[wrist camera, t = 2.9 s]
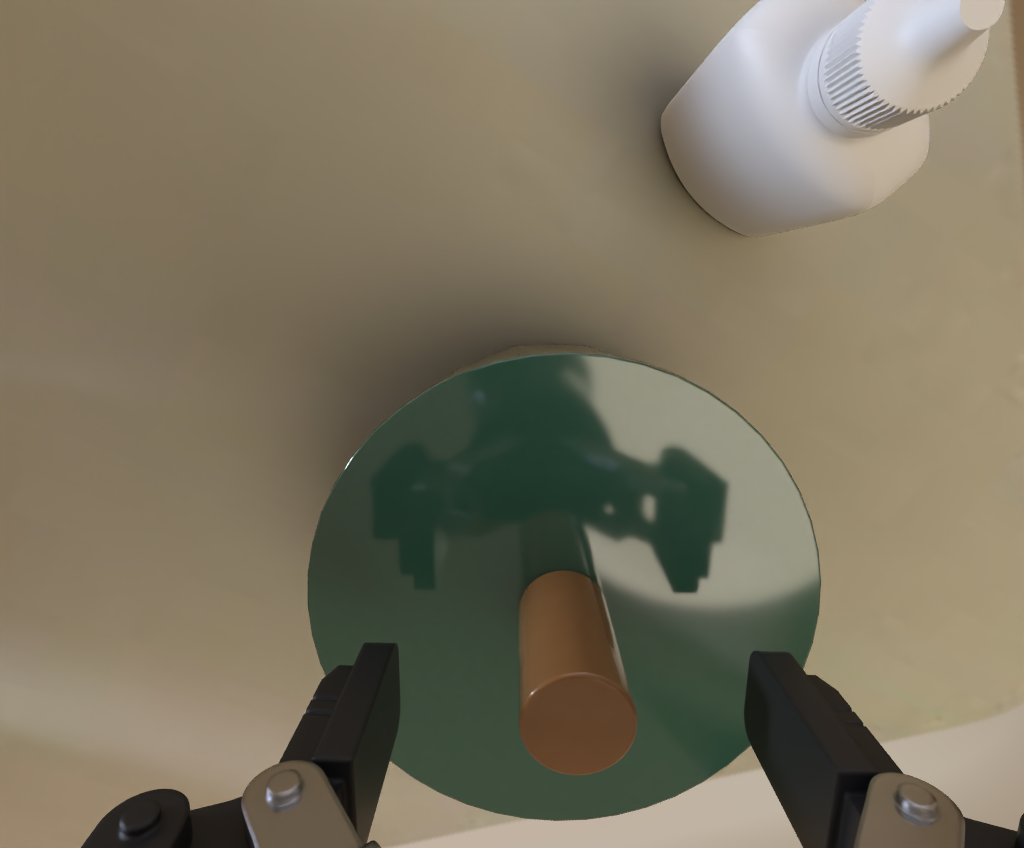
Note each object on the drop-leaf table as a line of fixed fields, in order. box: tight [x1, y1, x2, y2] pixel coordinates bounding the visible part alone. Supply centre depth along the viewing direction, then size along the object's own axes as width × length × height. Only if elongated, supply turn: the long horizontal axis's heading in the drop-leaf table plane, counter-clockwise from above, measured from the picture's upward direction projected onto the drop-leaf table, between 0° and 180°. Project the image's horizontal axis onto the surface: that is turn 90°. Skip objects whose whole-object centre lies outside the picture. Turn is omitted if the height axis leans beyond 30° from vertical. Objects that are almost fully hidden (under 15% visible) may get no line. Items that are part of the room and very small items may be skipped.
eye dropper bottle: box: [661, 0, 1004, 237], centre depth 15 cm, size 4×6×12 cm
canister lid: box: [308, 351, 821, 821], centre depth 15 cm, size 14×14×6 cm
